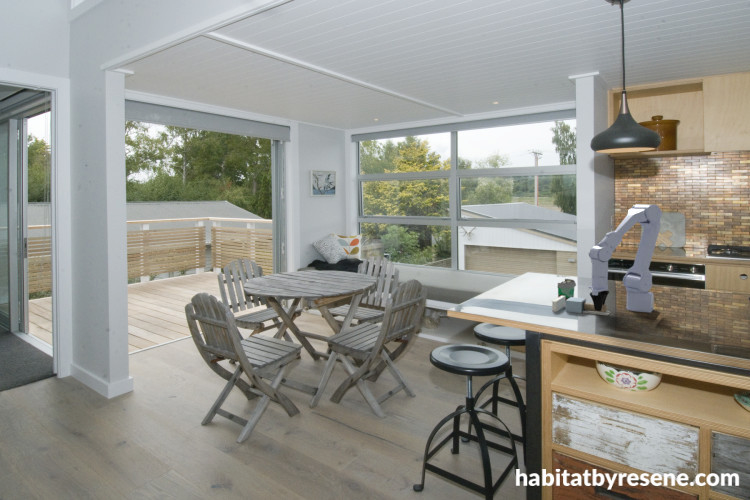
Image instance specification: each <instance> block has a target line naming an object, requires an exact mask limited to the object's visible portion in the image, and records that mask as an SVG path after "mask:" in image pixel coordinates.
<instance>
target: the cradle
mask: <svg viewBox="0 0 750 500" xmlns="http://www.w3.org/2000/svg"><path fill="white" fill-rule="evenodd" d="M582 313H584V314H592V315H601V316H609V315H610V314H611V311H609V310H607V311H606V312H597V311H588V310H584V311H583V312H582Z"/></svg>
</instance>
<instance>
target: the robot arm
mask: <svg viewBox="0 0 750 500" xmlns="http://www.w3.org/2000/svg"><path fill="white" fill-rule="evenodd" d="M662 214H663V211H662V210H661V208H660V206H659V205H658V204H654V203H651V204H641V203H636V204H633V205H632V207H631V208H629V209H628V211H627V215H626V216H625V217H624V219H623V220H621V222H620V223H619V225H618V226H617V227H616V229H615V230H614V231H609V232H606V234H605V236H604V237H603V238H602V240H601V241H600V242H598V243H597V245H595V246H593V247H592V248H590V251H589V252H588V257H589V259H590V262H591V285H588V289H590V290H591V292H590V293H589V296H590V297H591V300H592V303H593V304H594V308H595V310H596V311H601V309H602V305H606V300H607V297H608V295H609V293H610V291H609V287H608V281H609V280H608V278H609V260H611V258H612V255H613V252H614V251H615V249H616V248H618V246H619V245H620V244H621V243H622V241H623V236H624V235H625V234H626V233H627V232H628V231H630V230H631V229H632V227H634V226H635V225H636V224H640V226H641V227H642V228H643V231H642V234H641V237H640V241H639V245H638V247H637V251H636V254H635V258H634V262H633V265H632V266H631V267H630V268H628V269H627V270H626V271H627V272H626V274H625V275H624V276H623V278H622V284H623V286H624V287H625V290H626V310H627V311H631V312H642V313H650V314H651V313H652V312H653V311H654V301H655V299H654V297H655V295H654V292H651V291H650V290H651V288H652V286H653V273H652V272H651V271H650V269H649V268H650V265H651V262H652V258H653V254H654V251H655V247H656V245H657V240H658V237H659V233H660V230H661V218H662V216H663V215H662Z"/></svg>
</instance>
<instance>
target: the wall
mask: <svg viewBox="0 0 750 500" xmlns="http://www.w3.org/2000/svg"><path fill="white" fill-rule="evenodd" d="M551 303H552V304H551V306H552V307H551V310H552V312H555V313H557V312H558V311H559V310H561V309H562V308H564V307H566V302H565V296H560V297H558V296H557V298H555V299H554V300H552V302H551Z"/></svg>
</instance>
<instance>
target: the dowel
mask: <svg viewBox="0 0 750 500" xmlns="http://www.w3.org/2000/svg"><path fill="white" fill-rule="evenodd" d="M586 310H588V311H596V310H595V308H594V303H593V302H592V303H591V302H590V303H589V302H586V303H584V311H586ZM606 311H608V305H607V304H604V305H602V309H601V311H597V312H606Z"/></svg>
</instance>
